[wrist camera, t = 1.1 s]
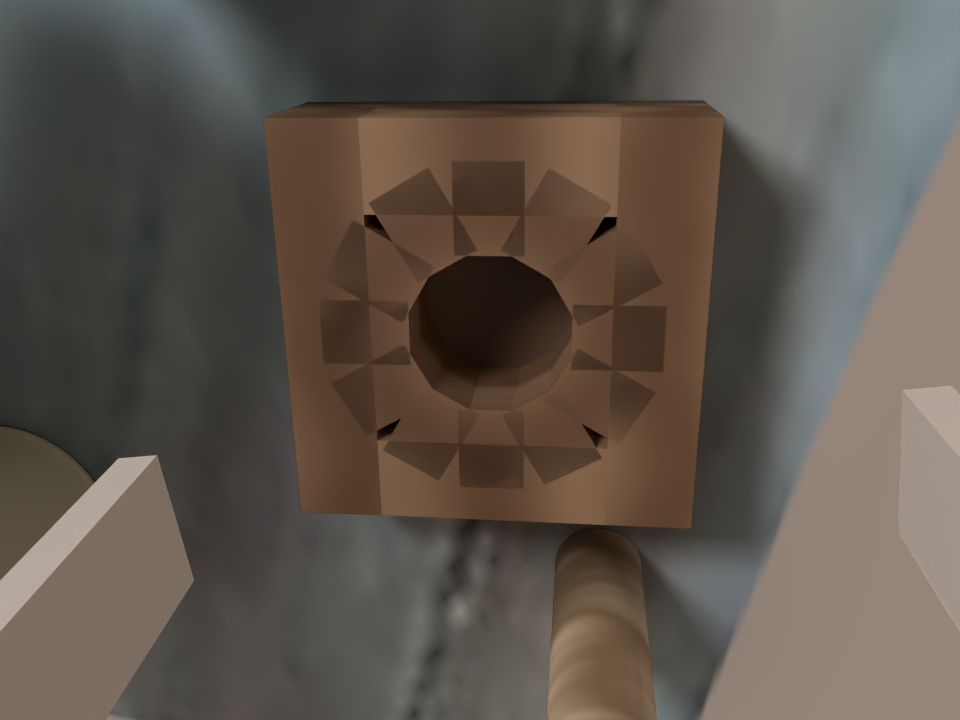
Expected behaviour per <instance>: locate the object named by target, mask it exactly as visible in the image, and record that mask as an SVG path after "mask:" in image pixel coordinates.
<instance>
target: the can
mask: <svg viewBox="0 0 960 720" xmlns="http://www.w3.org/2000/svg"><path fill="white" fill-rule="evenodd" d="M94 483H95V482H94V481H93V479H92V478H91V477H90V475H89V474H88V473H87V472H86V471H85V470H84V468H83V467H82V466H81V465H80V464H79V463H78V462H76V461H75V460H74V459H73V458H72V457H71V456H70V455H68V454H67V453H66V452H64V451H63V450H62V449H60V448H59V447H57V446H56V445H54V444H52V443H50V442H49V441H47V440H45V439H43V438H41V437H39V436H37V435H34V434H31V433H29V432H26V431H23V430H19V429H14V428H10V427H2V426H0V580H1V579H2V578H3V577H4V576H5V575H6V574H7V573H8V572H9V571H10V570H11V569H12V568H13V567H14V566H15V565H16V564H17V563H18V562H19V561H20V560H21V559H22V557H23V556H24V555H25V554H26V553H27V552H28V551H29V550H30V549H31V548H32V547H33V546H34V545H35V544H36V543H37V542H38V541H39V540H40V539H41V538H42V537H43V536H44V535H45V534H46V533H47V532H48V531H49V530H50V529H51V528H52V527H53V525H54V524H55V523H56V522H57V521H58V520H59V519H60V518H61V517H62V516H63V515H64V514H65V513H66V512H67V511H68V510H69V509H70V508H71V507H72V506H73V505H74V504H75V503H76V502H77V501H78V500H79V499H80V498H81V497H82V496H83V494H84V493H85V492H86V491H87V490H88V489H89V488H90V487H91V486H92V485H93V484H94Z"/></svg>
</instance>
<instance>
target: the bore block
mask: <svg viewBox="0 0 960 720" xmlns="http://www.w3.org/2000/svg"><path fill="white" fill-rule="evenodd" d="M263 121H264V132H265V142H266V152H267V163H268V173H269V184H270V194H271V204H272V215H273V225H274V235H275V246H276V256H277V266H278V277H279V287H280V297H281V308H282V318H283V328H284V339H285V349H286V360H287V370H288V380H289V391H290V401H291V411H292V422H293V432H294V442H295V453H296V463H297V473H298V484H299V494H300V505H301V512H321V513H344V514H367V515H389V516H412V517H435V518H457V519H480V520H503V521H525V522H548V523H571V524H593V525H616V526H639V527H661V528H684V529H691V523H692V511H693V498H694V486H695V473H696V461H697V449H698V436H699V424H700V411H701V399H702V386H703V374H704V361H705V349H706V336H707V324H708V311H709V299H710V287H711V274H712V262H713V249H714V237H715V224H716V212H717V199H718V187H719V174H720V162H721V149H722V137H723V125H724V117H723V116H722V115H721V114H720V113H718V112H717V111H716V110H715V109H713V108H712V107H711V106H710V105H709V104H707V103H706V102H705V101H456V102H307V103H304V104H301V105H299V106H296V107H293V108H290V109H287V110H285V111H282V112H279V113H276V114H273V115H270V116H268V117H265V118H263Z"/></svg>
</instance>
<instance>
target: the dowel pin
mask: <svg viewBox="0 0 960 720" xmlns="http://www.w3.org/2000/svg"><path fill="white" fill-rule="evenodd" d="M547 720H657V718H656V708H655V698H654V688H653V678H652V668H651V658H650V648H649V638H648V628H647V618H646V608H645V598H644V587H643V577H642V567H641V559H640V556H639V553H638V551H637V549H636V547H635V546H634V544H633V543H632V542H631V541H630V540H629V539H627V538H626V537H625V536H623V535H622V534H620V533H618V532H615V531H613V530H609V529H604V528H591V529H586V530H582V531H579V532H577V533H575V534H573V535H572V536H570V537H569V538H568V539H566V540H565V541H564V543H563V544H562V545H561V547H560V548H559V550H558V553H557V556H556V562H555V580H554V599H553V618H552V636H551V655H550V674H549V692H548V711H547Z"/></svg>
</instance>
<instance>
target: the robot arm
mask: <svg viewBox="0 0 960 720" xmlns="http://www.w3.org/2000/svg"><path fill="white" fill-rule="evenodd" d="M901 425H902V426H901V457H900V458H901V459H900V490H899V524H898V526H899V527H898V533H899V535H900V536H901V538H902V540H903V541H904V543H905V544H906V546H907V548H908V549H909V551H910V553H911V554H912V556H913V557H914V559H915V561H916V562H917V564H918V565H919V567H920V569H921V570H922V572H923V574H924V575H925V577H926V578H927V580H928V582H929V583H930V585H931V587H932V588H933V590H934V592H935V593H936V594H937V596H938V598H939V599H940V601H941V603H942V604H943V606H944V608H945V609H946V611H947V613H948V614H949V616H950V617H951V619H952V621H953V622H954V624H955V626H956V627H957V629H958V630H959V632H960V394H959V393H958V392H957V391H956V390H955V389H954V388H953V387H952V386H944V387H932V388H921V389H909V390H902V423H901ZM193 582H194V578H193V575H192V571H191V568H190V565H189V561H188V558H187V554H186V551H185V548H184V544H183V541H182V537H181V534H180V531H179V527H178V524H177V521H176V517H175V514H174V510H173V507H172V504H171V500H170V497H169V493H168V490H167V487H166V483H165V480H164V476H163V473H162V470H161V466H160V463H159V460H158V456H157V455H153V456H141V457H130V458H118V459H117V460H116V461H115V462H114V464H113V465H112V466H111V467H110V468H109V469H108V470H107V471H106V472H105V473H104V474H103V475H102V476H101V477H100V478H99V479H98V480H97V481H96V482H95V483H94V484H93V485H92V486H91V487H90V488H89V489H88V490H87V491H86V492H85V493H84V494H83V496H82V497H81V498H80V499H79V500H78V501H77V502H76V503H75V504H74V505H73V506H72V507H71V508H70V509H69V510H68V511H67V512H66V513H65V514H64V515H63V516H62V517H61V518H60V519H59V520H58V521H57V522H56V523H55V524H54V525H53V527H52V528H51V529H50V530H49V531H48V532H47V533H46V534H45V535H44V536H43V537H42V538H41V539H40V540H39V541H38V542H37V543H36V544H35V545H34V546H33V547H32V548H31V549H30V550H29V551H28V552H27V553H26V554H25V555H24V556H23V557H22V559H21V560H20V561H19V562H18V563H17V564H16V565H15V566H14V567H13V568H12V569H11V570H10V571H9V572H8V573H7V574H6V575H5V576H4V577H3V578H2V579H1V580H0V720H106V718H107V717H108V715H109V714H110V712H111V711H112V709H113V707H114V706H115V704H116V703H117V701H118V700H119V698H120V696H121V695H122V693H123V692H124V690H125V689H126V687H127V685H128V684H129V682H130V681H131V679H132V678H133V676H134V674H135V673H136V671H137V670H138V668H139V667H140V665H141V663H142V662H143V660H144V659H145V657H146V656H147V654H148V652H149V651H150V649H151V648H152V646H153V645H154V643H155V641H156V640H157V638H158V637H159V635H160V634H161V632H162V630H163V629H164V627H165V626H166V624H167V623H168V621H169V619H170V618H171V616H172V615H173V613H174V612H175V610H176V608H177V607H178V605H179V604H180V602H181V601H182V599H183V597H184V596H185V594H186V593H187V591H188V590H189V588H190V586H191V585H192V583H193Z"/></svg>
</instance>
